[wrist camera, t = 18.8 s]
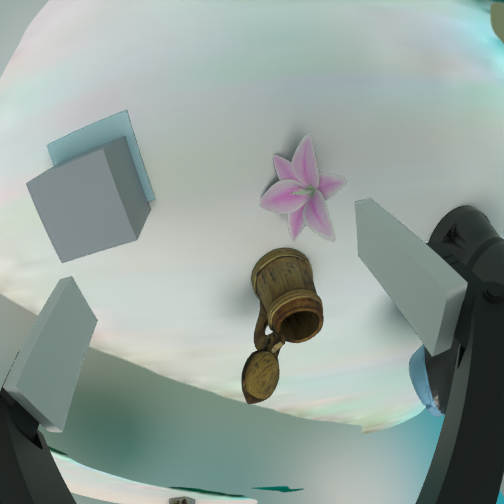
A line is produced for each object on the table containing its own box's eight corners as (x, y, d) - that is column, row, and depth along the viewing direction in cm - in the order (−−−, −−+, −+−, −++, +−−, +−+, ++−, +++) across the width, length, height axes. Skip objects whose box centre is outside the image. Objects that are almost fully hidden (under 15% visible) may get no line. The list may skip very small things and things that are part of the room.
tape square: (126, 110, 33) (126, 110, 32) (155, 198, 39) (155, 199, 38) (47, 144, 33) (46, 145, 32) (78, 224, 39) (77, 225, 38)
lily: (307, 117, 37) (285, 124, 29) (377, 179, 37) (374, 204, 30) (256, 181, 44) (224, 205, 37) (318, 237, 44) (300, 272, 37)
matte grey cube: (125, 135, 34) (102, 148, 26) (150, 209, 39) (137, 240, 32) (58, 163, 34) (25, 183, 26) (85, 230, 39) (61, 263, 32)
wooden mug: (214, 290, 46) (220, 389, 31) (290, 236, 44) (333, 322, 28) (251, 323, 50) (268, 417, 35) (321, 276, 48) (367, 363, 32)
